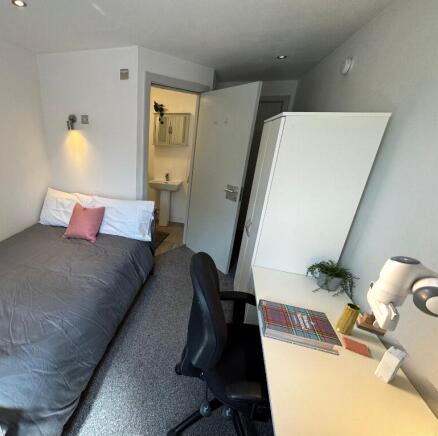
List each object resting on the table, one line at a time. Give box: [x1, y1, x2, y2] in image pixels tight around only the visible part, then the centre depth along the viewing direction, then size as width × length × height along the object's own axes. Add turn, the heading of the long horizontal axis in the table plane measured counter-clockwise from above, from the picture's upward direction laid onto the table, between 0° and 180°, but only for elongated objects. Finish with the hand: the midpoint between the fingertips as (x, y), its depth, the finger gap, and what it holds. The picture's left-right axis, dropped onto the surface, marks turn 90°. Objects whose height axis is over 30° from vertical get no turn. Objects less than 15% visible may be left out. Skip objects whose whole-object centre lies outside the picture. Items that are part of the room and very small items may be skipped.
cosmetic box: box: [374, 346, 408, 384], centre depth 88 cm, size 6×4×12 cm
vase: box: [334, 302, 362, 336], centre depth 108 cm, size 6×6×14 cm
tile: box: [342, 336, 371, 358], centre depth 101 cm, size 8×6×1 cm
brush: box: [355, 312, 388, 338], centre depth 93 cm, size 8×4×6 cm, turn 59°
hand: (373, 322), depth 92 cm, fingers closed on brush, 2 cm apart
